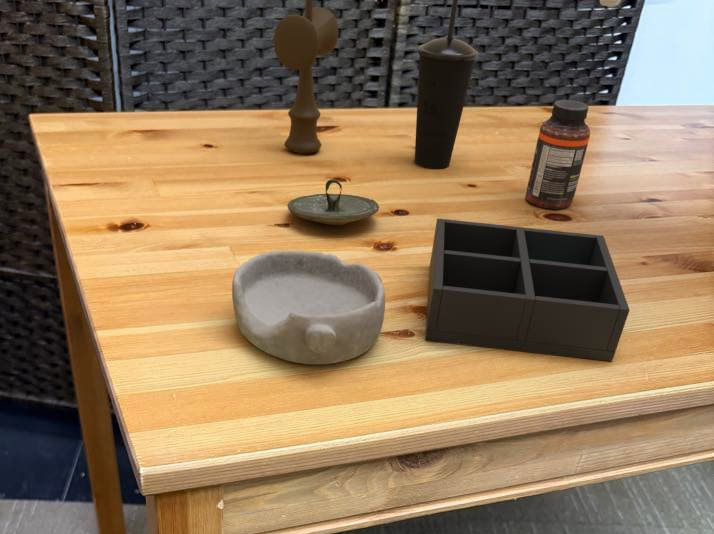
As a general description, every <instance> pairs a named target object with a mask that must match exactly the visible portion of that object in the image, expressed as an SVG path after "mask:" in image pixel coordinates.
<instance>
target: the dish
mask: <svg viewBox="0 0 714 534" xmlns="http://www.w3.org/2000/svg"><path fill="white" fill-rule="evenodd" d="M231 282H232V283H231V299H232V306H233V307H232V308H233V312H234V316H235V319H236V323H237V326H238V328H239V330H240V332H241V333H242V335H243V336H244V337H245V339H247V340H248V341H249V342H250V343H251V344H252V345H254V346H255V347H256V348H258V349H260V350H261V351H263V352H265V353H267V354H269V355H271V356H273V357H276V358H279V359H282V360H285V361H288V362H291V363H298V364H305V365H329V364H330V365H331V364H336V363H341V362H346V361H348V360H351V359H354V358H356V357H359V356H361V355H363V354H364V353H366V352H367V351H368V350H369V349H371V348H372V347H373V346H374V345H375V343H376V342H377V340H378V339H379V336H380V334H381V331H382V328H383V323H384V320H385V319H384V317H385V312H386V311H385V309H386V292H385V288H384V284H383V280H382V277H381V276H380V274H379V273H378V272H376V271H374V270H372V269H371V268H370V267H369V266H367V265H365V264H364V263H361V262H358V263H349V262H346V261H344V260H342V259H340V258H339V257H338V256H337V255H335V254H333V253H332V254H331V253H328V254H327V253H323V252H321V251H320V252H318V251H306V250H272V251H268V252H264V253H260V254H257V255H256V256H253V257H251V258H249V259H248V260H245V262H242V264H241V265H239V267H238V268H237V269H236V270H235V272H234V275H233V277H232V281H231Z"/></svg>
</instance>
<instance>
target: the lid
mask: <svg viewBox="0 0 714 534" xmlns="http://www.w3.org/2000/svg"><path fill="white" fill-rule="evenodd" d="M332 184H336V185H338V187H339V190H340V191H339V193H328V190H329V189H330V186H331V185H332ZM342 188H343V185H342V184H341V183H340V181H338V180H337V179H334V178H333V179H328V180H327V181H326V183H325V193H316V194H315V193H314V194H310V195H309V194H308V195H302V196H298V197H296V198H293V199H292V200H290V201H289V202H288V204H286V205H287V206H286V207H287V209H288V211H289V212H290V213H291V214H293V215H294V216H296V217H298V218H302V219H304V220H307V221H311V222H315V223H320V224H325V225H330V226H337V227H338V226H343V225H346V224H349V223H354V222H357V221H360V220H363V219H366V218H369V217H372V216H373V215H375V214H376V213H378V212H379V210H380V206H379V203H378V202H376V201H375V200H374V199H371V198H368V197H363V196H359V195H354V194H344V193H342V190H343V189H342Z"/></svg>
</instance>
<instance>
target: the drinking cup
mask: <svg viewBox="0 0 714 534" xmlns="http://www.w3.org/2000/svg"><path fill="white" fill-rule="evenodd" d="M458 3H459V0H452V3H451V9H450V17H449V22H448V30H447V37H439V38H435V39H432V40H429V41H428V42H426V43H424V44H421V45H419V46H418V47H417V53H418V54H419V56H418V58H419V59H418V79H417V81H418V82H417V98H416V99H417V100H416V101H417V102H416V118H415V119H416V122H415V123H416V124H415V142H414V144H415V145H414V163H415V164H416V165H417V166H419V167H421V168H426V169H432V170H433V169H434V170H435V169H436V170H439V169H440V170H441V169H446V168H448V167H449V166H450V164H451V160H452V156H453V151H454V147H455V143H456V139H457V135H458V131H459V127H460V124H461V118H462V115H463V110H464V108H465V107H464V106H465V103H466V99H467V94H468V90H469V86H470V82H471V79H472V78H471V77H472V73H473V69H474V67H475V66H474V65H475V61H476V60H477V59H478V58H479V51H478V50H476V49H474V48H473V47H472V46H471V45H469V44H468V43H466V42H464V41H463V40H461V39H457V38H454V32H455V24H456V19H457V11H458V6H459V4H458Z"/></svg>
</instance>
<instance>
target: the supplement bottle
mask: <svg viewBox="0 0 714 534" xmlns="http://www.w3.org/2000/svg"><path fill="white" fill-rule="evenodd" d="M553 103H554V104H553V107H552V110H551V116H550V117H549V118H548V119H546V120H545V121H543V123H542V124H541V126H540V128H539V132H538V137H537V142H536V145H535V150H534V154H533V159H532V164H531V169H530V173H529V177H528V182H527V187H526V191H525V198H526V200H527V201H528V202H529V203H531V204H532V205H534V206H537V207H539V208H542V209H550V210H559V209H565V208H567V207H569V206H571V205H572V204H573V201H574V198H575V194H576V191H577V188H578V184H579V179H580V177H581V172H582V168H583V164H584V160H585V157H586V153H587V149H588V146H589V141H590V137H591V129H590V126H588V125H587V124H586V121H585V120H586V119H587V117H588V112H589V106H588V104H586V103H584V102H582V101H578V100H572V99H558V100H556V101H554V102H553Z"/></svg>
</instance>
